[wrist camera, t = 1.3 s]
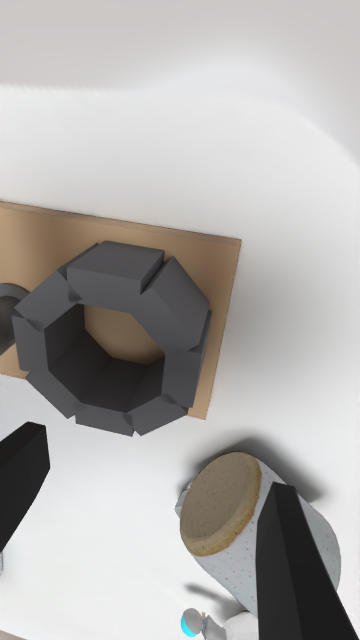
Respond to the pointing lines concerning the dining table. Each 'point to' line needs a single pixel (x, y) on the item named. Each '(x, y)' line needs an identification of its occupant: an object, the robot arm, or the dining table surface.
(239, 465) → the ceramic mug
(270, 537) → the robot arm
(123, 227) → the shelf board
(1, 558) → the tea box
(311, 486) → the dining table surface
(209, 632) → the perfume bottle
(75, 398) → the dark grey octagonal ring
